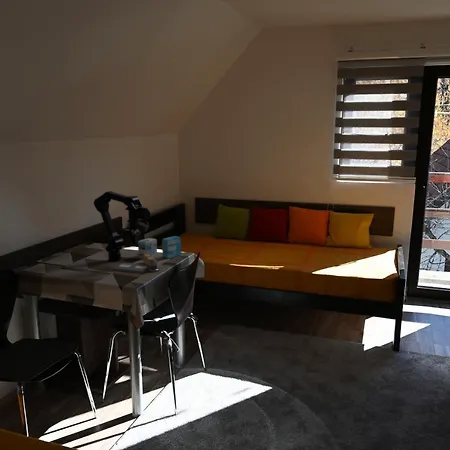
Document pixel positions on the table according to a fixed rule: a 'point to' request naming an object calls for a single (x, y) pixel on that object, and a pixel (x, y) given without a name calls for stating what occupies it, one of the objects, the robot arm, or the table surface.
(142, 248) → the light bulb box
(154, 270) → the pivot base
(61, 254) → the table surface
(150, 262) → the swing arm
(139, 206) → the robot arm
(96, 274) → the table surface
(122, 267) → the label board
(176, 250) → the data package
